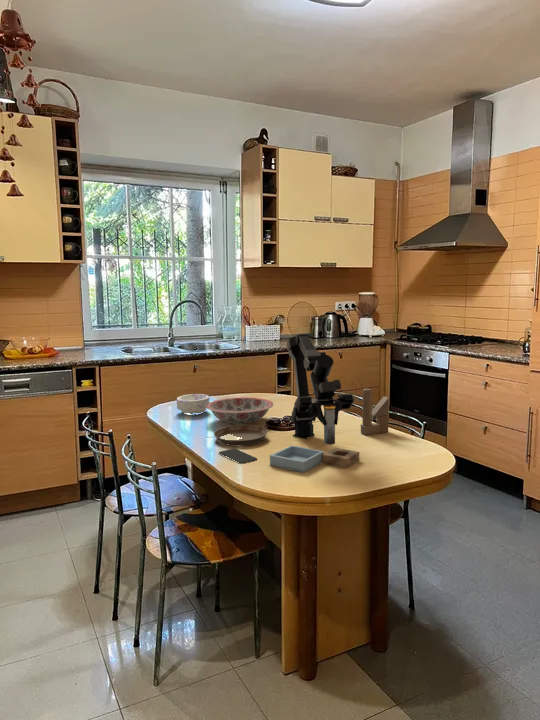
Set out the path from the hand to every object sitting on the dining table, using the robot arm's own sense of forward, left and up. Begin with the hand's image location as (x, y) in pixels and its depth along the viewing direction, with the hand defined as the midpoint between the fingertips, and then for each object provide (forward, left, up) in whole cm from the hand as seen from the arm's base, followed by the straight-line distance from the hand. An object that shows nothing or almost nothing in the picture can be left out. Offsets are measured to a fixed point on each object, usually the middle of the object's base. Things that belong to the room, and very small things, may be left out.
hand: (330, 424), depth 173 cm
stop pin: (-1, +1, -7) cm, 7 cm away
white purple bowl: (-89, +29, -14) cm, 95 cm away
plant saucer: (-43, +7, -14) cm, 46 cm away
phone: (-31, -10, -14) cm, 36 cm away
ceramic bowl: (-60, +28, -14) cm, 68 cm away
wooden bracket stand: (-4, +42, -14) cm, 45 cm away
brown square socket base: (+2, +4, -13) cm, 14 cm away
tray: (-10, -5, -13) cm, 17 cm away
